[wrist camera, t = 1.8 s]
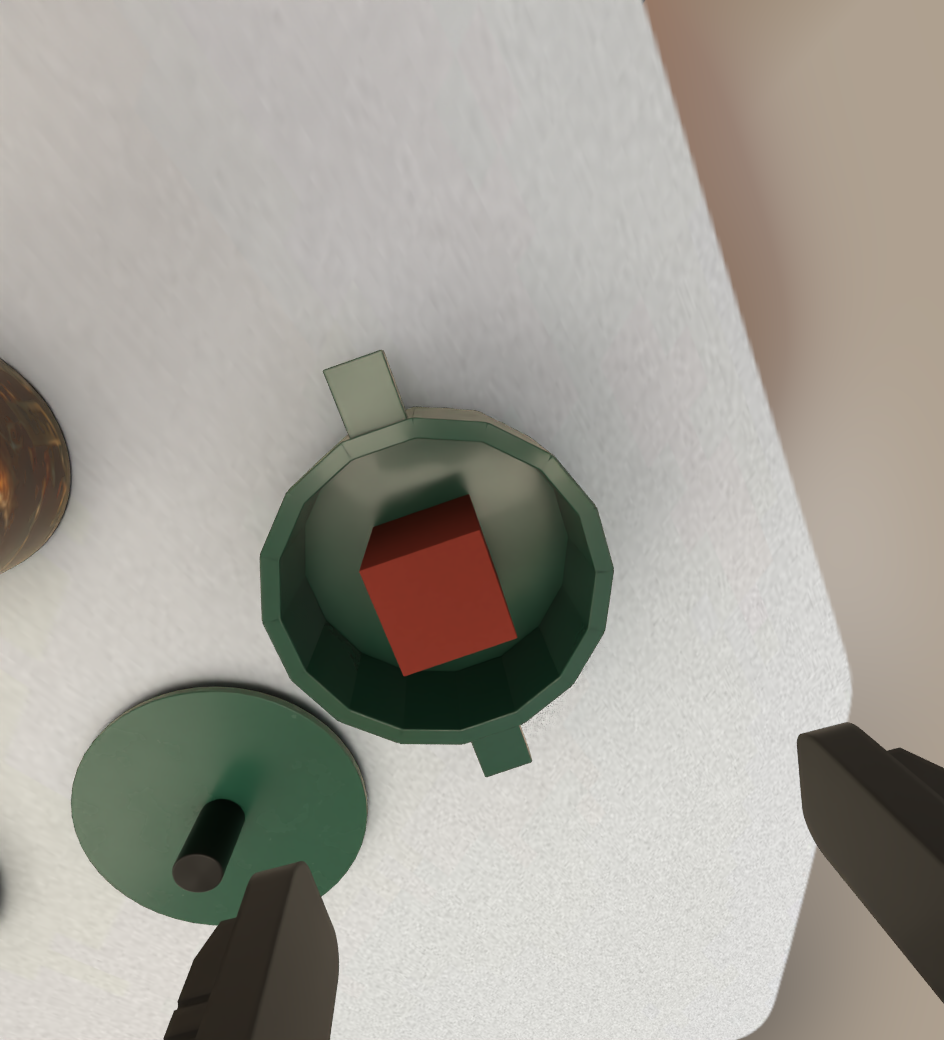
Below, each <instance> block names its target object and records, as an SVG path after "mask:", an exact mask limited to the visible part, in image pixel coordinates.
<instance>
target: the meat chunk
mask: <svg viewBox="0 0 944 1040" xmlns="http://www.w3.org/2000/svg"><path fill="white" fill-rule="evenodd" d="M359 573H360V575H361V577H362V580H363V582H364V584H365V587H366V589H367V591H368V594H369V596H370V598H371V601H372V603H373V605H374V608H375V610H376V613H377V615H378V617H379V620H380V622H381V624H382V627H383V629H384V631H385V634H386V636H387V638H388V641H389V643H390V645H391V648H392V650H393V653H394V655H395V657H396V660H397V662H398V664H399V667H400V669H401V671H402V674H403V676H407V675H410V674H413V673H416V672H419V671H422V670H425V669H428V668H431V667H434V666H437V665H440V664H443V663H445V662H448V661H451V660H454V659H457V658H460V657H463V656H466V655H469V654H472V653H475V652H478V651H481V650H484V649H487V648H490V647H493V646H496V645H499V644H501V643H504V642H507V641H510V640H513V639H516V638H517V634H516V631H515V628H514V625H513V622H512V619H511V615H510V612H509V609H508V606H507V603H506V600H505V597H504V594H503V591H502V588H501V584H500V581H499V579H498V576H497V573H496V570H495V567H494V564H493V561H492V558H491V555H490V553H489V550H488V547H487V544H486V541H485V538H484V535H483V532H482V530H481V527H480V524H479V521H478V518H477V515H476V512H475V509H474V506H473V504H472V501H471V498H470V495H469V494H468V495H465V496H462V497H459V498H456V499H453V500H450V501H447V502H444V503H441V504H439V505H436V506H433V507H430V508H427V509H424V510H421V511H418V512H415V513H412V514H410V515H407V516H404V517H401V518H398V519H395V520H392V521H389V522H386V523H383V524H381V525H378V526H375V527H373V529H372V532H371V535H370V539H369V542H368V545H367V548H366V551H365V554H364V558H363V561H362V564H361V567H360V570H359Z"/></svg>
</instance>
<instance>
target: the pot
mask: <svg viewBox="0 0 944 1040" xmlns="http://www.w3.org/2000/svg"><path fill="white" fill-rule="evenodd" d="M323 373H324V376H325V378H326V381H327V383H328V386H329V388H330V391H331V393H332V396H333V398H334V401H335V403H336V406H337V408H338V411H339V413H340V416H341V418H342V421H343V423H344V426H345V428H346V431H347V433H348V435H347V436H345V437H344V438H343V439H342V440H341V441H340V442H339V443H338V444H337V445H336V446H335V447H334V448H332V449H331V450H330V451H329V452H328V453H327V454H326V455H325V456H324V457H323V458H322V459H320V460H319V461H318V462H317V463H316V464H315V465H314V466H313V467H312V468H311V469H310V470H309V471H308V472H307V473H306V474H304V475H303V476H302V477H301V478H300V479H299V480H298V481H297V482H296V483H295V484H294V485H293V486H292V487H291V488H290V489H289V490H288V492H287V493H286V494H285V497H284V499H283V501H282V504H281V506H280V509H279V511H278V513H277V516H276V518H275V520H274V523H273V525H272V527H271V530H270V532H269V534H268V537H267V539H266V541H265V544H264V546H263V548H262V551H261V553H260V581H261V611H262V621H263V625H264V627H265V629H266V631H267V633H268V635H269V637H270V639H271V641H272V643H273V645H274V647H275V649H276V651H277V653H278V655H279V657H280V659H281V661H282V663H283V665H284V667H285V669H286V671H287V673H288V676H289V678H290V679H291V681H292V682H294V683H295V684H296V685H297V686H298V687H299V688H300V689H302V690H303V691H304V692H305V693H306V694H307V695H309V696H310V697H311V698H312V699H313V700H314V701H315V702H317V703H318V704H319V705H320V706H321V707H322V708H323V709H325V710H326V711H327V712H328V713H329V714H330V715H332V716H333V717H334V718H335V719H336V720H337V721H340V722H341V723H344V724H347V725H350V726H352V727H355V728H358V729H361V730H363V731H366V732H369V733H371V734H374V735H377V736H380V737H382V738H385V739H388V740H391V741H393V742H396V743H400V744H455V745H462V744H466V743H469V742H471V743H472V745H473V748H474V750H475V753H476V755H477V758H478V760H479V763H480V765H481V768H482V770H483V773H484V775H485V777H489V776H492V775H495V774H498V773H501V772H504V771H507V770H510V769H513V768H516V767H519V766H522V765H525V764H528V763H531V762H532V758H531V754H530V750H529V747H528V744H527V742H526V739H525V736H524V733H523V731H522V728H521V725H522V724H523V723H525V722H527V721H528V720H529V719H531V718H532V717H533V716H534V715H536V714H537V713H538V712H539V711H541V710H542V709H543V708H544V707H546V706H547V705H548V704H550V703H551V702H552V701H553V700H555V699H556V698H557V697H558V696H560V695H561V694H562V693H564V692H565V691H566V690H567V689H569V688H570V687H571V686H572V685H573V684H574V683H575V681H576V679H577V678H578V676H579V674H580V673H581V671H582V669H583V668H584V666H585V664H586V663H587V661H588V659H589V657H590V656H591V654H592V652H593V651H594V649H595V647H596V646H597V644H598V642H599V641H600V639H601V637H602V636H603V634H604V631H605V628H606V621H607V614H608V607H609V601H610V594H611V587H612V580H613V573H614V570H613V569H614V567H613V563H612V560H611V556H610V553H609V549H608V545H607V542H606V538H605V535H604V531H603V528H602V524H601V520H600V517H599V513H598V510H597V507H596V506H595V504H594V503H593V502H592V501H591V499H590V498H589V497H588V496H587V495H586V493H585V492H584V491H583V490H582V489H581V487H580V486H579V485H578V484H577V483H576V481H575V480H574V479H573V478H572V477H571V475H570V474H569V473H568V472H567V471H566V469H565V468H564V467H563V466H562V465H561V463H560V462H559V461H558V460H557V459H556V457H555V456H554V455H552V454H551V453H550V452H549V451H547V450H546V449H545V448H544V447H542V446H541V445H540V444H538V443H537V442H536V441H535V440H533V439H532V438H531V437H529V436H527V435H525V434H523V433H521V432H519V431H517V430H515V429H513V428H511V427H509V426H508V425H506V424H504V423H502V422H500V421H497V420H495V419H493V418H491V417H489V416H487V415H485V414H483V413H481V412H479V411H476V410H464V409H453V408H432V407H417V406H416V407H412V408H409V409H406V410H405V407H404V404H403V402H402V399H401V396H400V394H399V391H398V388H397V385H396V383H395V380H394V377H393V374H392V372H391V369H390V366H389V363H388V361H387V358H386V355H385V352H384V351H383V350H379V351H376V352H373V353H370V354H368V355H365V356H362V357H359V358H356V359H353V360H350V361H348V362H345V363H342V364H339V365H336V366H333V367H330V368H328V369H325V370H323ZM468 494H469V495H470V498H471V501H472V504H473V506H474V509H475V512H476V515H477V518H478V521H479V524H480V527H481V530H482V532H483V535H484V538H485V541H486V544H487V547H488V550H489V553H490V555H491V558H492V561H493V564H494V567H495V570H496V573H497V576H498V579H499V581H500V584H501V588H502V591H503V594H504V597H505V600H506V603H507V606H508V609H509V612H510V615H511V619H512V622H513V625H514V628H515V631H516V634H517V638H516V639H513V640H510V641H507V642H504V643H501V644H499V645H496V646H493V647H490V648H487V649H484V650H481V651H478V652H475V653H472V654H469V655H466V656H463V657H460V658H457V659H454V660H451V661H448V662H445V663H443V664H440V665H437V666H434V667H431V668H428V669H425V670H422V671H419V672H416V673H413V674H410V675H407V676H403V674H402V671H401V669H400V667H399V664H398V662H397V660H396V657H395V655H394V653H393V650H392V648H391V645H390V643H389V641H388V638H387V636H386V634H385V631H384V629H383V627H382V624H381V622H380V620H379V617H378V615H377V613H376V610H375V608H374V605H373V603H372V601H371V598H370V596H369V594H368V591H367V589H366V587H365V584H364V582H363V580H362V577H361V575H360V573H359V570H360V567H361V564H362V561H363V558H364V554H365V551H366V548H367V545H368V542H369V539H370V535H371V532H372V529H373V527H375V526H378V525H381V524H383V523H386V522H389V521H392V520H395V519H398V518H401V517H404V516H407V515H410V514H412V513H415V512H418V511H421V510H424V509H427V508H430V507H433V506H436V505H439V504H441V503H444V502H447V501H450V500H453V499H456V498H459V497H462V496H465V495H468Z"/></svg>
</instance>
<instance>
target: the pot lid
mask: <svg viewBox="0 0 944 1040" xmlns="http://www.w3.org/2000/svg"><path fill="white" fill-rule="evenodd" d="M71 808H72V819H73V823H74V827H75V832H76V834H77V837H78V839H79V842H80V844H81V847H82V848H83V850H84V852H85V854H86V855H87V857H88V859H89V860H90V862H91V863H92V864H93V866H94V867H95V868H96V869H97V871H98V872H99V873H100V874H101V875H102V876H103V877H104V878H105V879H106V880H107V881H108V882H109V883H110V884H111V885H112V886H113V887H115V888H116V889H117V890H119V891H120V892H121V893H123V894H124V895H125V896H127V897H128V898H130V899H132V900H133V901H135V902H137V903H138V904H140V905H142V906H144V907H146V908H148V909H151V910H153V911H155V912H157V913H160V914H163V915H166V916H169V917H172V918H175V919H179V920H183V921H187V922H192V923H198V924H206V925H218V924H219V923H220V922H221V921H224V920H228V919H231V918H235V917H237V914H238V911H239V908H240V905H241V902H242V899H243V896H244V893H245V890H246V887H247V885H248V882H249V880H250V878H251V877H252V876H253V874H255V873H257V872H260V871H264V870H268V869H272V868H276V867H280V866H284V865H288V864H291V863H295V862H299V861H304V862H305V863H306V864H307V865H308V867H309V869H310V871H311V873H312V876H313V878H314V881H315V883H316V886H317V888H318V891H319V893H320V896H323V895H324V894H326V893H327V892H328V891H329V890H330V889H331V888H332V887H333V886H335V885H336V884H337V883H338V882H339V880H340V879H341V878H342V877H343V876H344V875H345V873H346V872H347V871H348V870H349V868H350V866H351V865H352V863H353V862H354V860H355V859H356V856H357V854H358V852H359V850H360V848H361V845H362V842H363V838H364V835H365V831H366V823H367V814H368V804H367V793H366V789H365V784H364V780H363V777H362V775H361V772H360V770H359V767H358V765H357V763H356V761H355V760H354V758H353V756H352V754H351V753H350V751H349V750H348V749H347V747H346V746H345V745H344V743H343V742H342V741H341V740H340V738H339V737H338V736H337V735H336V734H335V733H334V732H333V731H332V730H331V729H330V728H329V727H328V726H326V725H325V724H324V723H322V722H321V721H320V720H319V719H317V718H316V717H315V716H313V715H312V714H310V713H308V712H307V711H305V710H303V709H301V708H300V707H298V706H296V705H294V704H292V703H290V702H287V701H285V700H283V699H280V698H278V697H275V696H272V695H268V694H265V693H262V692H258V691H253V690H247V689H242V688H234V687H220V686H215V687H196V688H189V689H183V690H177V691H173V692H170V693H166V694H163V695H159V696H157V697H154V698H152V699H149V700H147V701H144V702H142V703H140V704H138V705H136V706H135V707H133V708H131V709H129V710H128V711H126V712H124V713H123V714H122V715H120V716H119V717H118V718H117V719H115V720H114V721H113V722H111V723H110V724H109V725H108V726H107V727H106V728H105V729H104V730H103V731H102V732H101V733H100V735H99V736H98V737H97V738H96V739H95V740H94V741H93V743H92V744H91V746H90V747H89V749H88V750H87V751H86V753H85V754H84V756H83V758H82V761H81V763H80V765H79V767H78V769H77V772H76V776H75V779H74V782H73V788H72V797H71Z"/></svg>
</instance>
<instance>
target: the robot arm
mask: <svg viewBox="0 0 944 1040" xmlns="http://www.w3.org/2000/svg"><path fill="white" fill-rule="evenodd" d="M797 752H798V764H799V776H800V787H801V799H802V809H803V814H804V818H805V821H806V824H807V827H808V829H809V831H810V833H811V835H812V837H813V839H814V841H815V843H816V844H817V846H818V848H819V849H820V851H821V852H822V853H823V855H824V856H825V857H826V859H827V860H828V861H829V862H830V863H831V865H832V866H833V867H834V868H835V870H836V871H837V872H838V873H839V875H840V876H841V877H842V878H843V880H844V881H845V882H846V883H847V884H848V886H849V887H850V888H851V889H852V891H853V892H854V893H855V894H856V896H857V897H858V898H859V899H860V900H861V902H862V903H863V904H864V906H865V907H866V908H867V909H868V910H869V912H870V913H871V914H872V915H873V917H874V918H875V919H876V920H877V922H878V923H879V924H880V925H881V927H882V928H883V929H884V930H885V931H886V933H887V934H888V935H889V936H890V938H891V939H892V940H893V941H894V943H895V944H896V945H897V946H898V948H899V949H900V950H901V951H902V952H903V954H904V955H905V956H906V957H907V959H908V960H909V961H910V962H911V963H912V965H913V966H914V967H915V968H916V970H917V971H918V972H919V974H920V975H921V976H922V977H923V978H924V980H925V981H926V982H927V983H928V985H929V986H930V987H931V988H932V990H933V991H934V992H935V993H936V995H937V996H938V997H939V998H940V1000H941V1001H942V1002H943V1003H944V768H943V767H940V766H938V765H936V764H934V763H932V762H930V761H927V760H925V759H923V758H921V757H919V756H917V755H915V754H912V753H910V752H908V751H906V750H904V749H902V748H896V749H892V750H889V751H886V750H885V749H884V748H883V747H881V746H880V745H879V744H878V743H877V742H876V741H874V740H873V739H872V738H871V737H870V736H868V735H867V734H866V733H865V732H864V731H863V730H861V729H860V728H859V727H857V726H856V725H854V724H852V723H849V722H845V723H841V724H837V725H834V726H830V727H826V728H822V729H818V730H814V731H810V732H806V733H803V734H800V735H799V736H798V739H797ZM338 975H339V953H338V944H337V938H336V934H335V930H334V928H333V925H332V923H331V920H330V918H329V915H328V913H327V910H326V908H325V905H324V903H323V900H322V898H321V896H320V893H319V891H318V888H317V886H316V883H315V881H314V878H313V876H312V873H311V871H310V869H309V867H308V865H307V864H306V863H305V862H304V861H299V862H295V863H291V864H288V865H284V866H280V867H276V868H272V869H268V870H264V871H260V872H257V873H255V874H253V876H252V877H251V878H250V880H249V882H248V885H247V887H246V890H245V893H244V896H243V899H242V902H241V905H240V908H239V911H238V914H237V917H235V918H231V919H228V920H224V921H221V922H220V923H219V924H218V926H217V927H216V929H215V930H214V932H213V933H212V934H211V936H210V937H209V939H208V940H207V942H206V943H205V944H204V946H203V947H202V949H201V950H200V952H199V953H198V954H197V956H196V957H195V959H194V960H193V963H192V966H191V968H190V971H189V973H188V976H187V979H186V981H185V984H184V986H183V989H182V992H181V994H180V997H179V999H178V1009H177V1010H174V1012H173V1015H172V1018H171V1020H170V1023H169V1025H168V1028H167V1031H166V1033H165V1036H164V1040H330V1034H331V1027H332V1020H333V1013H334V1005H335V998H336V991H337V984H338Z"/></svg>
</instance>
